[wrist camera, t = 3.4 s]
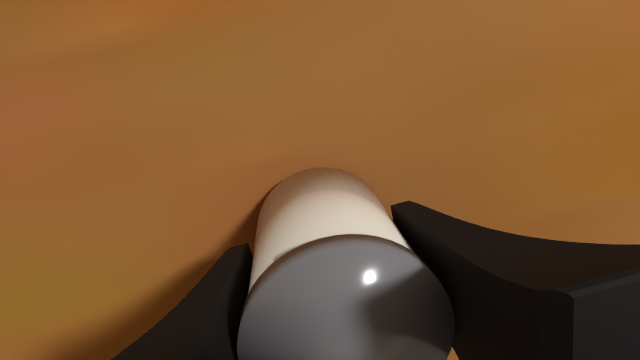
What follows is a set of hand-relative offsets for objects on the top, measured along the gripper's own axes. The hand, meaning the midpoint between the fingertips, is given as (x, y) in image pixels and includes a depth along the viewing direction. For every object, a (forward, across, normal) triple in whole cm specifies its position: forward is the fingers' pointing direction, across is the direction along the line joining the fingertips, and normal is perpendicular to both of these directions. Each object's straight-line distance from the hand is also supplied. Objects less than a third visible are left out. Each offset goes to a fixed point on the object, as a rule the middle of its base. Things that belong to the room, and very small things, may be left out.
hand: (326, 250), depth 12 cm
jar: (+2, 0, 0) cm, 2 cm away
